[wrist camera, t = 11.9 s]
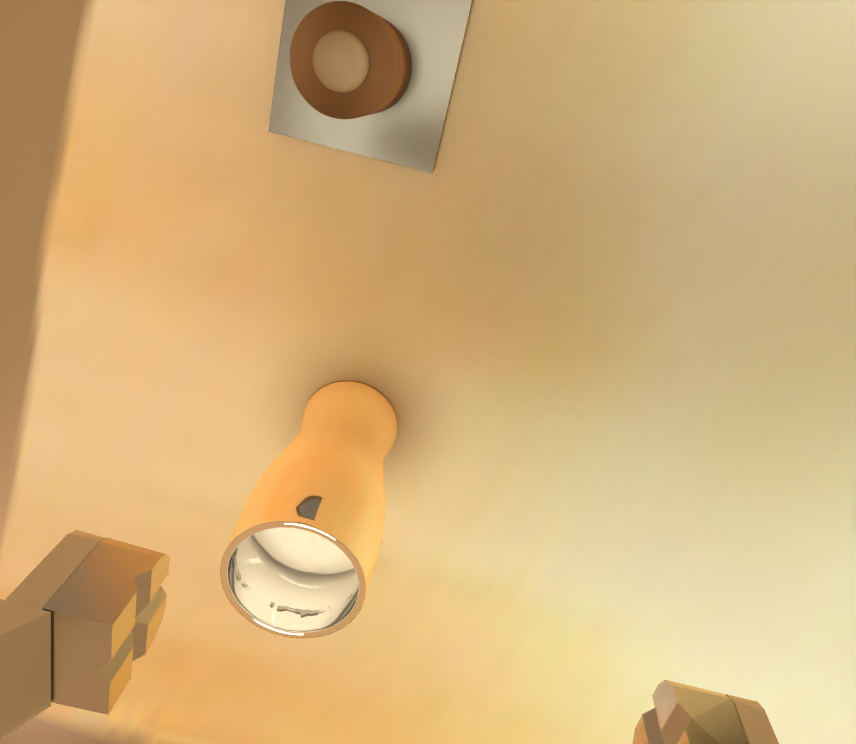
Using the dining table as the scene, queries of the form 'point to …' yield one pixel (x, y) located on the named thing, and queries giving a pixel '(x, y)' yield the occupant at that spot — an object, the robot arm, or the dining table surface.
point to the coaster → (415, 111)
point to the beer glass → (315, 518)
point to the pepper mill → (349, 61)
